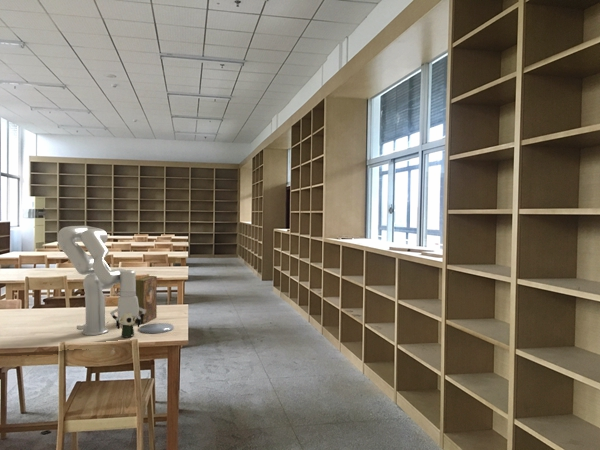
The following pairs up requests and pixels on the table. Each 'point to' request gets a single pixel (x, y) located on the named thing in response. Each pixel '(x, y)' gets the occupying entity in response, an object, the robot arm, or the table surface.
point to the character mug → (127, 324)
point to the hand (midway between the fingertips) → (128, 327)
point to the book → (147, 297)
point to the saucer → (156, 328)
